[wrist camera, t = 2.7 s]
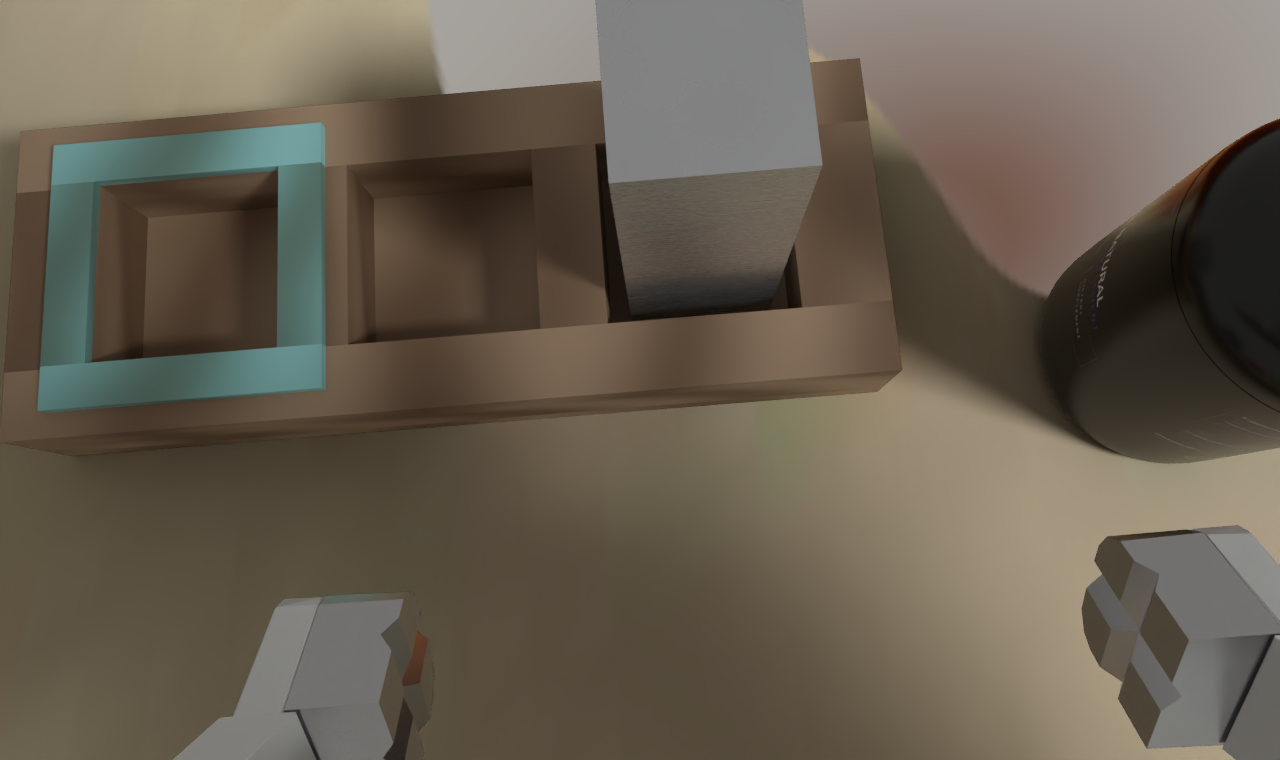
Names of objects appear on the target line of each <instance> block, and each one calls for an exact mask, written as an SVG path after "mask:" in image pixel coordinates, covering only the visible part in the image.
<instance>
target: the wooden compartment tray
mask: <svg viewBox="0 0 1280 760" xmlns="http://www.w3.org/2000/svg"><path fill="white" fill-rule="evenodd" d="M810 68H811V76H812V84H813V92H814V100H815V108H816V116H817V124H818V132H819V140H820V148H821V156H822V164H823V166H822V168H821V171H820V174H819V176H818V179H817V182H816V185H815V187H814V190H813V193H812V195H811V198H810V201H809V203H808V206H807V209H806V212H805V214H804V217H803V220H802V222H801V225H800V228H799V231H798V233H797V236H796V239H795V241H794V244H793V247H792V250H791V252H790V255H789V258H788V260H787V263H786V266H785V268H784V271H783V274H782V277H781V279H780V282H779V285H778V287H777V290H776V293H775V296H774V298H773V301H772V304H771V306H770V309H769V310H767V311H755V312H742V313H730V314H718V315H706V316H693V317H681V318H669V319H657V320H644V321H632V319H631V313H630V307H629V301H628V295H627V289H626V284H625V278H624V272H623V266H622V260H621V254H620V248H619V242H618V236H617V230H616V224H615V218H614V212H613V206H612V200H611V194H610V188H609V181H608V167H607V153H606V140H605V126H604V112H603V98H602V84H601V81H593V82H582V83H570V84H559V85H547V86H535V87H525V88H513V89H501V90H490V91H478V92H467V93H455V94H443V95H432V96H420V97H409V98H397V99H386V100H374V101H363V102H351V103H340V104H328V105H317V106H305V107H294V108H282V109H271V110H259V111H248V112H236V113H225V114H213V115H202V116H190V117H179V118H167V119H156V120H144V121H133V122H121V123H110V124H98V125H87V126H75V127H64V128H52V129H41V130H29V131H21V136H20V150H19V165H18V179H17V193H16V208H15V222H14V237H13V251H12V266H11V280H10V294H9V309H8V323H7V338H6V352H5V367H4V381H3V395H2V410H1V424H0V442H1V443H6V444H11V445H17V446H22V447H27V448H33V449H38V450H43V451H49V452H54V453H59V454H65V455H70V456H76V455H88V454H101V453H114V452H126V451H139V450H151V449H164V448H176V447H189V446H202V445H214V444H227V443H239V442H252V441H264V440H277V439H289V438H302V437H315V436H327V435H340V434H352V433H365V432H377V431H390V430H403V429H415V428H428V427H440V426H453V425H465V424H478V423H490V422H503V421H516V420H528V419H541V418H553V417H566V416H578V415H591V414H604V413H616V412H629V411H641V410H654V409H666V408H679V407H691V406H704V405H717V404H729V403H742V402H754V401H767V400H779V399H792V398H805V397H817V396H830V395H842V394H855V393H867V392H877V391H879V390H880V389H881V388H882V387H883V386H884V385H885V384H887V383H888V382H889V381H890V380H891V379H892V378H893V377H895V376H896V375H897V374H898V373H899V372H900V371H902V365H901V358H900V350H899V343H898V336H897V328H896V321H895V314H894V306H893V299H892V292H891V284H890V277H889V270H888V262H887V255H886V248H885V240H884V233H883V226H882V218H881V211H880V204H879V196H878V189H877V182H876V174H875V167H874V160H873V152H872V145H871V138H870V130H869V123H868V116H867V108H866V101H865V94H864V86H863V79H862V72H861V64H860V59H859V58H858V59H847V60H836V61H823V62H812V63H810Z"/></svg>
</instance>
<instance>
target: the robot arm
mask: <svg viewBox="0 0 1280 760" xmlns="http://www.w3.org/2000/svg"><path fill="white" fill-rule="evenodd" d="M1094 561H1095V563H1096V565H1097V566H1098V568H1099V569H1100V571H1101V573H1102V575H1101V576H1100V577H1098V578H1097V579H1096V580H1095V581H1094V582H1093V583H1092V584H1090V585H1089V586H1088V587H1087V588H1086V592H1085V596H1084V600H1083V605H1082V617H1083V627H1084V633H1085V636H1086V639H1087V642H1088V645H1089V647H1090V650H1091V652H1092V653H1093V655H1094V657H1095V659H1096V661H1097V663H1098V664H1099V666H1100V667H1101V668H1102V669H1104V670H1105V671H1107V672H1108V673H1110V674H1111V675H1113V676H1114V677H1116V678H1117V679H1119V680H1120V681H1122V684H1121V688H1120V693H1119V697H1118V700H1119V702H1120V703H1121V705H1122V707H1123V708H1124V710H1125V712H1126V714H1127V715H1128V717H1129V719H1130V721H1131V722H1132V724H1133V726H1134V728H1135V729H1136V731H1137V733H1138V734H1139V736H1140V738H1141V740H1142V741H1143V743H1144V745H1145V747H1146V748H1147V749H1151V748H1171V747H1191V746H1211V745H1224V746H1223V748H1222V749H1223V750H1225V751H1226V752H1227V753H1228V754H1230V755H1231V756H1232V757H1233V758H1235V759H1236V760H1280V565H1279V564H1278V563H1277V562H1276V561H1275V560H1274V559H1273V557H1272V556H1271V555H1270V554H1269V553H1268V552H1267V551H1266V550H1265V548H1264V547H1263V546H1262V545H1261V544H1260V543H1259V542H1258V540H1257V539H1256V538H1255V537H1254V536H1253V535H1252V534H1251V533H1250V532H1249V531H1248V530H1246V529H1244V528H1242V527H1240V526H1238V525H1235V526H1223V527H1211V528H1200V529H1193V530H1176V531H1165V532H1154V533H1142V534H1131V535H1119V536H1108V537H1106V538H1105V539H1104V540H1103V541H1102V542H1101V544H1100V545H1099V547H1098V550H1097V553H1096V557H1095V560H1094ZM419 618H420V610H419V607H418V604H417V601H416V598H415V595H414V593H411V592H389V593H370V594H351V595H332V596H326V597H310V598H290V599H283V600H282V601H281V603H280V604H279V605H278V606H277V607H276V608H275V609H274V611H273V614H272V616H271V619H270V621H269V624H268V627H267V629H266V632H265V634H264V637H263V639H262V642H261V645H260V647H259V650H258V652H257V655H256V657H255V660H254V662H253V665H252V668H251V670H250V673H249V675H248V678H247V680H246V683H245V686H244V688H243V691H242V693H241V696H240V698H239V701H238V704H237V706H236V709H235V711H234V714H233V716H230V717H221V718H219V719H217V720H216V721H215V722H214V723H213V724H212V725H211V726H210V727H208V728H207V729H206V730H205V731H204V732H203V733H202V734H201V735H200V736H198V737H197V738H196V739H195V740H194V741H193V742H192V743H191V744H189V745H188V746H187V747H186V748H185V749H184V750H183V751H182V752H181V753H179V754H178V755H177V756H176V757H175V758H174V759H173V760H423V757H424V750H423V747H422V743H421V740H420V737H419V734H418V731H419V730H420V729H421V728H422V727H423V726H424V725H425V724H426V722H427V721H428V720H429V719H430V717H431V710H432V704H433V697H434V666H433V658H432V652H431V648H430V645H429V641H428V639H427V638H426V637H425V636H423V635H422V634H420V633H419V632H418V631H417V628H418V623H419Z"/></svg>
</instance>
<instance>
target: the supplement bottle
mask: <svg viewBox="0 0 1280 760" xmlns="http://www.w3.org/2000/svg"><path fill="white" fill-rule="evenodd" d="M1039 349H1040V357H1041V363H1042V367H1043V371H1044V374H1045V377H1046V380H1047V382H1048V385H1049V387H1050V389H1051V391H1052V393H1053V395H1054V397H1055V398H1056V400H1057V402H1058V403H1059V405H1060V406H1061V408H1062V409H1063V410H1064V412H1065V413H1066V414H1067V415H1068V417H1069V418H1070V419H1071V420H1072V421H1073V422H1074V423H1075V424H1076V425H1077V426H1078V427H1079V428H1080V429H1081V430H1083V431H1084V432H1085V433H1086V434H1087V435H1089V436H1090V437H1091V438H1093V439H1094V440H1096V441H1097V442H1099V443H1101V444H1102V445H1104V446H1106V447H1108V448H1110V449H1112V450H1114V451H1116V452H1118V453H1121V454H1123V455H1126V456H1128V457H1132V458H1135V459H1139V460H1143V461H1148V462H1154V463H1191V462H1198V461H1205V460H1212V459H1218V458H1224V457H1230V456H1235V455H1241V454H1247V453H1252V452H1258V451H1264V450H1269V449H1275V448H1280V119H1277V120H1275V121H1272V122H1270V123H1267V124H1265V125H1263V126H1261V127H1259V128H1257V129H1255V130H1253V131H1251V132H1250V133H1248V134H1246V135H1244V136H1243V137H1241V138H1240V139H1238V140H1236V141H1235V142H1233V143H1232V144H1231V145H1229V146H1227V147H1226V148H1225V149H1223V150H1222V151H1220V152H1219V153H1218V154H1216V155H1215V156H1214V157H1212V158H1211V159H1209V160H1208V161H1207V162H1205V163H1204V164H1203V165H1201V166H1200V167H1199V168H1197V169H1196V170H1195V171H1193V172H1192V173H1191V174H1189V175H1188V176H1187V177H1185V178H1184V179H1183V180H1181V181H1180V182H1179V183H1177V184H1176V185H1175V186H1173V187H1172V188H1171V189H1169V190H1168V191H1167V192H1165V193H1164V194H1162V195H1161V196H1160V197H1158V198H1157V199H1156V200H1154V201H1153V202H1152V203H1150V204H1149V205H1148V206H1146V207H1145V208H1144V209H1142V210H1141V211H1140V212H1138V213H1137V214H1136V215H1134V216H1133V217H1132V218H1130V219H1129V220H1128V221H1126V222H1125V223H1124V224H1122V225H1121V226H1119V227H1118V228H1117V229H1115V230H1114V231H1113V232H1112V233H1110V234H1109V235H1107V236H1106V237H1105V238H1104V239H1102V240H1101V241H1099V242H1098V243H1097V244H1095V245H1094V246H1093V247H1092V248H1091V249H1089V250H1088V251H1087V252H1085V253H1084V254H1083V255H1082V256H1081V257H1079V258H1078V259H1077V260H1076V261H1075V262H1074V263H1073V264H1072V265H1071V266H1070V267H1069V268H1068V269H1067V270H1066V271H1065V272H1064V273H1063V274H1062V276H1061V277H1060V278H1059V280H1058V281H1057V282H1056V284H1055V286H1054V287H1053V289H1052V291H1051V293H1050V295H1049V297H1048V299H1047V301H1046V304H1045V307H1044V310H1043V314H1042V318H1041V323H1040V331H1039Z"/></svg>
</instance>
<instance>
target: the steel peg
mask: <svg viewBox="0 0 1280 760" xmlns="http://www.w3.org/2000/svg"><path fill="white" fill-rule="evenodd" d="M596 15H597V28H598V41H599V56H600V70H601V84H602V98H603V112H604V126H605V140H606V153H607V167H608V181H609V188H610V194H611V200H612V206H613V212H614V218H615V224H616V230H617V236H618V242H619V248H620V254H621V260H622V266H623V272H624V278H625V284H626V289H627V295H628V301H629V307H630V313H631V319H632V321H644V320H657V319H669V318H681V317H693V316H706V315H718V314H730V313H742V312H755V311H767V310H769V309H770V306H771V304H772V301H773V298H774V296H775V293H776V290H777V287H778V285H779V282H780V279H781V277H782V274H783V271H784V268H785V266H786V263H787V260H788V258H789V255H790V252H791V250H792V247H793V244H794V241H795V239H796V236H797V233H798V231H799V228H800V225H801V222H802V220H803V217H804V214H805V212H806V209H807V206H808V203H809V201H810V198H811V195H812V193H813V190H814V187H815V185H816V182H817V179H818V176H819V174H820V171H821V168H822V166H823V164H822V156H821V148H820V140H819V132H818V124H817V116H816V108H815V100H814V92H813V84H812V76H811V68H810V59H809V51H808V44H807V35H806V27H805V19H804V12H803V3H802V0H596Z"/></svg>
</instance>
